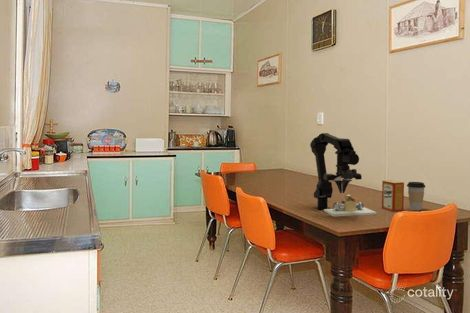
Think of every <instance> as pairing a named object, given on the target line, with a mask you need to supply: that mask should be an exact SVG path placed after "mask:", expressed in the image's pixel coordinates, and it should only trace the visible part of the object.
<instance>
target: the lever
mask: <svg viewBox="0 0 470 313" xmlns="http://www.w3.org/2000/svg"><path fill="white" fill-rule="evenodd" d="M344 198H345V199H350V200H351V201H353V202H356V203H357V202H360V201H359V200H360V199H359V197H358V198H357V197H354V196H352V194H350V193H349V194H348V193H347V194H345V196H344Z"/></svg>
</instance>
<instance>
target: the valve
mask: <svg viewBox="0 0 470 313" xmlns="http://www.w3.org/2000/svg"><path fill="white" fill-rule="evenodd" d="M363 207H365V206H364V202H362V201H359V202H353V201H351V200H350V199H343V198H342V199H341V202H340V203H339V202H338V201H337V202H335V203H333V206H332V209H335V210H336V211H339V209H341V210H343V211H356V209H357V208H358V210H361V209H362V208H363Z"/></svg>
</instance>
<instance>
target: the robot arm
mask: <svg viewBox="0 0 470 313" xmlns="http://www.w3.org/2000/svg"><path fill="white" fill-rule="evenodd" d="M328 144H330V145H332V146H333V148H334V149H335V150H336V151H335V152H334V154H335V155H336V164H335V167H336V172H335V174H333V173H327V167H326V160H325V153H326V151H327V146H328ZM309 146H310V149H311V152H312V154H313V155H314V156H315V162H316V171H317V178H318V181H317V184H316V189H315V191H314V192H313V198H315V199H317V205H316V206H315V208H316V209H317V210H324V209H331V208H330V207H328V204H329V203H328V199H329V198H330V199H332V196H333V191H334V190H333V184H332V182H331V181H334V182H335V184H336V186H337V188H338V192H339V193H340V194H345V193H346V190H347V187H348V185H349V183H350V182H352V181H353V179H355V180H356V181H357V180H362V174H361V173H358V172H357V168H352V169H350V168H351V167H350V165H351V166H355V165H357V164H359V161H360V157H359V155H358V154H357V152H356V150H354V149H355V148H354V147H353V144H352V142H351V139H349V138H340V137H337V136H335V135H333V134H330V133H328V132H323V133H322V132H321V133H319V135H318V136H316V137H314V138H313V139H312V140H311V141H310V144H309Z"/></svg>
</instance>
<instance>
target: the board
mask: <svg viewBox="0 0 470 313" xmlns="http://www.w3.org/2000/svg"><path fill="white" fill-rule="evenodd" d="M323 212H324V213H326V214H328V215H330V216H332V217H333V218H334V217H335V218H336V217H350V216H373V215H377V211H374V210H372V209H370V208H367V207H365V206H364V207H363V208H362V209H361V210H358V208H357V209H356V211H343V210H341V209H339V211H336V210H335V209H334V208H330V209H323Z"/></svg>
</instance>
